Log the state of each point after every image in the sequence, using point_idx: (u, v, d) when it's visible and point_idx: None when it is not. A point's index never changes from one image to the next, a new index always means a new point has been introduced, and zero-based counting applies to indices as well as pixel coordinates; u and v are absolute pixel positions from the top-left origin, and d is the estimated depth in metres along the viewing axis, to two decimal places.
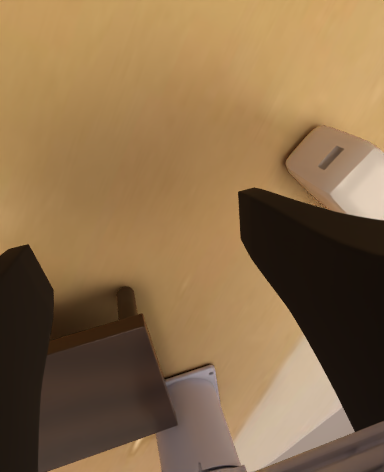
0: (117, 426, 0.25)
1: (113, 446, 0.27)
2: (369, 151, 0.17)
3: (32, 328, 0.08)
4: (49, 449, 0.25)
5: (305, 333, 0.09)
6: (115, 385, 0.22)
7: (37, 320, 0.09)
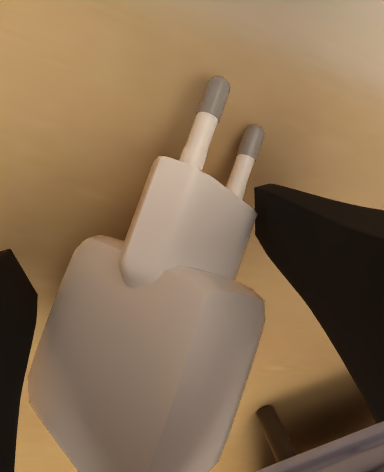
0: None
1: None
2: None
3: (12, 334, 0.08)
4: None
5: (324, 327, 0.09)
6: None
7: (18, 325, 0.09)
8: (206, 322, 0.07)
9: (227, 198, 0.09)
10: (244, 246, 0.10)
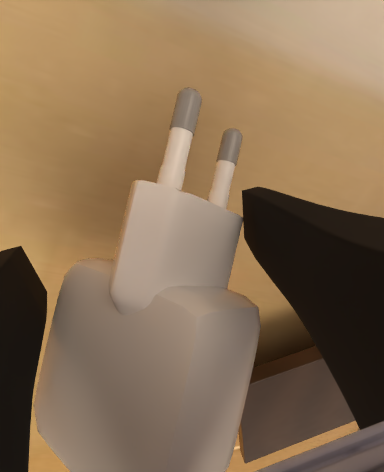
0: None
1: None
2: None
3: (24, 330, 0.08)
4: (346, 408, 0.30)
5: (310, 332, 0.09)
6: (299, 389, 0.25)
7: (29, 322, 0.09)
8: (201, 346, 0.07)
9: (210, 211, 0.09)
10: (233, 253, 0.10)
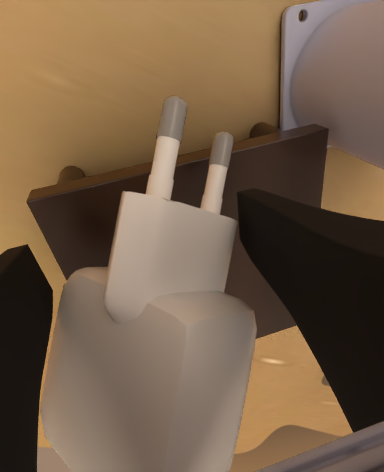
0: None
1: None
2: None
3: (31, 328, 0.08)
4: (267, 298, 0.20)
5: (304, 334, 0.09)
6: None
7: (36, 320, 0.09)
8: (191, 354, 0.07)
9: (201, 217, 0.09)
10: (229, 256, 0.10)
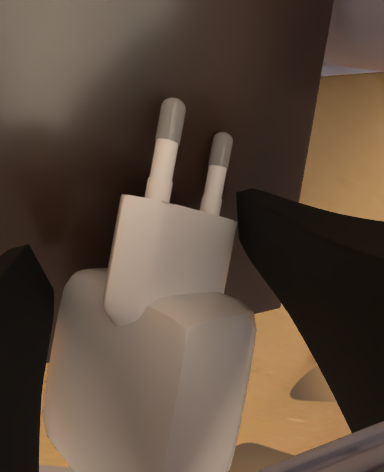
0: (232, 150, 0.11)
1: (298, 170, 0.13)
2: None
3: (32, 328, 0.08)
4: None
5: (302, 334, 0.09)
6: (66, 126, 0.09)
7: (37, 320, 0.09)
8: (190, 357, 0.07)
9: (200, 219, 0.09)
10: (228, 257, 0.10)
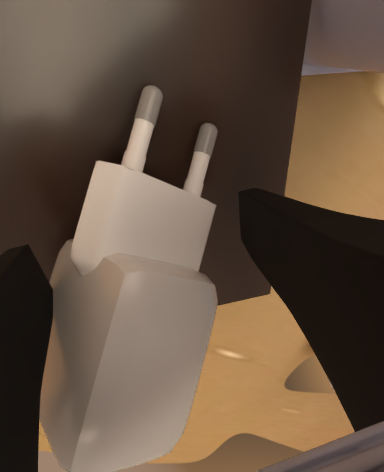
0: (221, 142, 0.12)
1: (282, 161, 0.14)
2: None
3: (32, 328, 0.08)
4: (219, 252, 0.15)
5: (305, 333, 0.09)
6: (69, 119, 0.10)
7: (37, 320, 0.09)
8: (125, 298, 0.08)
9: (168, 191, 0.10)
10: (203, 236, 0.11)
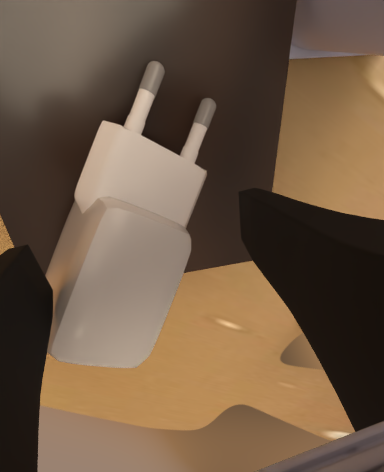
0: (219, 114, 0.14)
1: (274, 133, 0.15)
2: (61, 361, 0.10)
3: (31, 328, 0.08)
4: (216, 216, 0.17)
5: (305, 333, 0.09)
6: (90, 90, 0.12)
7: (36, 320, 0.09)
8: (104, 227, 0.09)
9: (159, 152, 0.11)
10: (191, 197, 0.12)
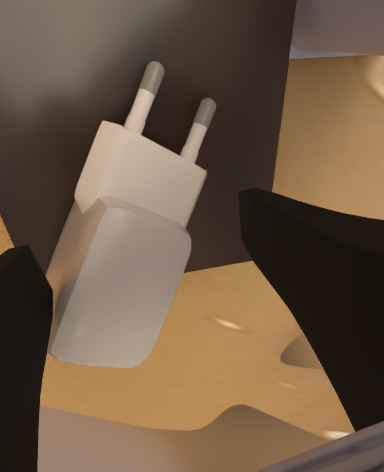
0: (219, 114, 0.14)
1: (274, 133, 0.15)
2: (61, 361, 0.10)
3: (31, 328, 0.08)
4: (216, 216, 0.17)
5: (305, 333, 0.09)
6: (90, 90, 0.12)
7: (36, 320, 0.09)
8: (104, 227, 0.09)
9: (159, 152, 0.11)
10: (191, 197, 0.12)
